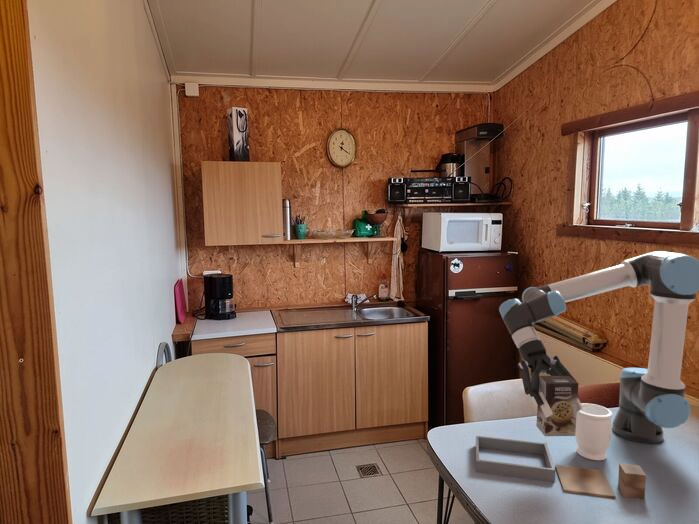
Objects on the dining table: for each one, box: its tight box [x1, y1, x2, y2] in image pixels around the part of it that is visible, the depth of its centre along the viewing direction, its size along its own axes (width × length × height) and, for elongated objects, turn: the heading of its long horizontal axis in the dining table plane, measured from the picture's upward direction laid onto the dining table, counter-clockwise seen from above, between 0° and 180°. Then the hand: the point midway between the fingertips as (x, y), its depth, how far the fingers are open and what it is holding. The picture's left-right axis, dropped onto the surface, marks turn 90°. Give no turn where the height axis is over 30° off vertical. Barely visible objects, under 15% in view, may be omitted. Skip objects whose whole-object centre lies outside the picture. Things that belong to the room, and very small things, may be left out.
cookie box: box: [535, 375, 580, 437], centre depth 133 cm, size 9×6×16 cm
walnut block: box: [617, 462, 647, 501], centre depth 125 cm, size 5×5×7 cm
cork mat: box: [554, 464, 616, 499], centre depth 131 cm, size 13×13×1 cm
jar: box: [574, 402, 613, 461], centre depth 145 cm, size 11×10×15 cm
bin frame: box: [475, 435, 556, 483], centre depth 142 cm, size 22×16×4 cm
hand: (564, 413), depth 130 cm, fingers closed on cookie box, 10 cm apart
